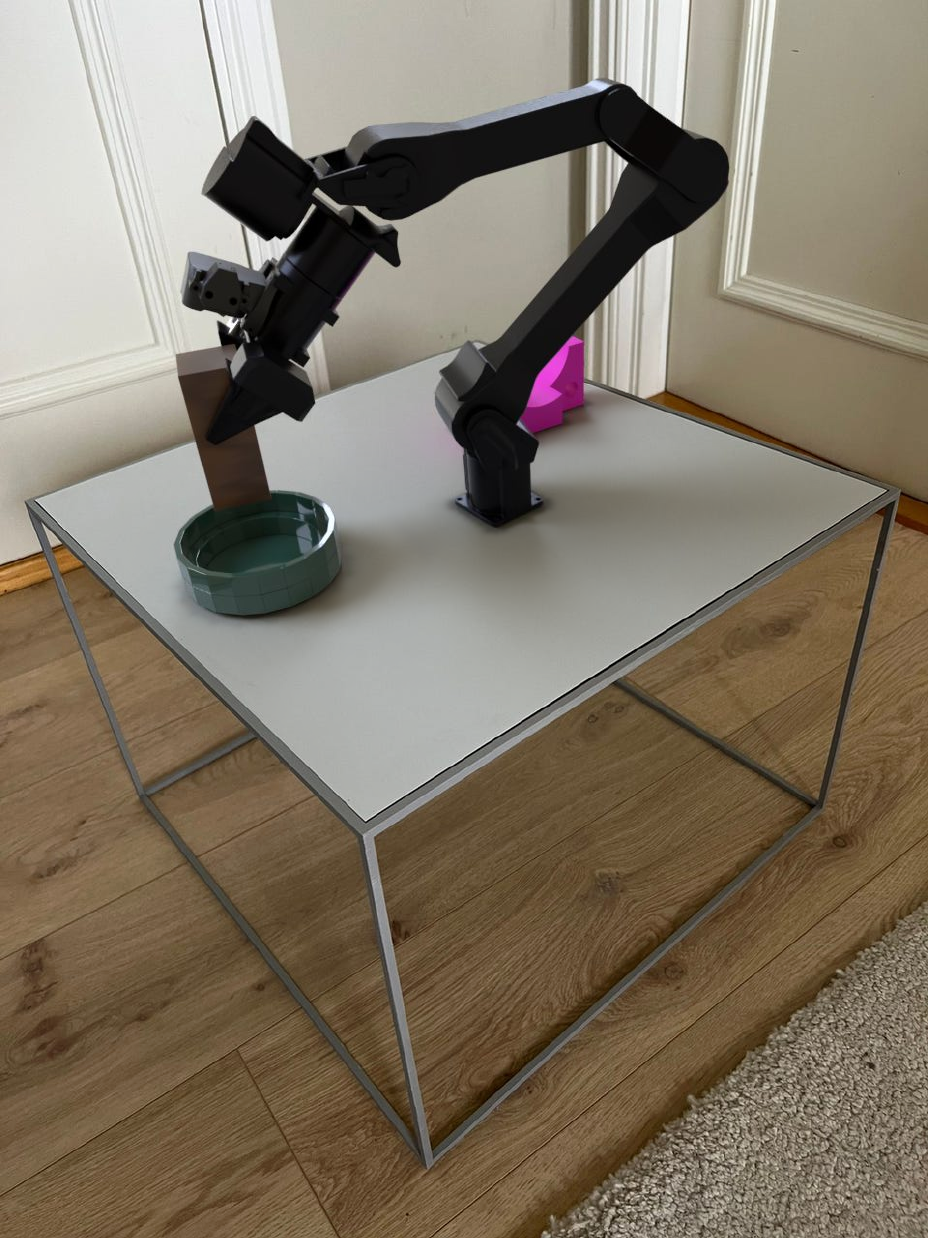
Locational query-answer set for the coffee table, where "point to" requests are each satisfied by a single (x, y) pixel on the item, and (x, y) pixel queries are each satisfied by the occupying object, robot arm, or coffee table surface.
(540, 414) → the toy block
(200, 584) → the teal shallow bowl
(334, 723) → the coffee table surface
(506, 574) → the coffee table surface
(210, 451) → the walnut block
